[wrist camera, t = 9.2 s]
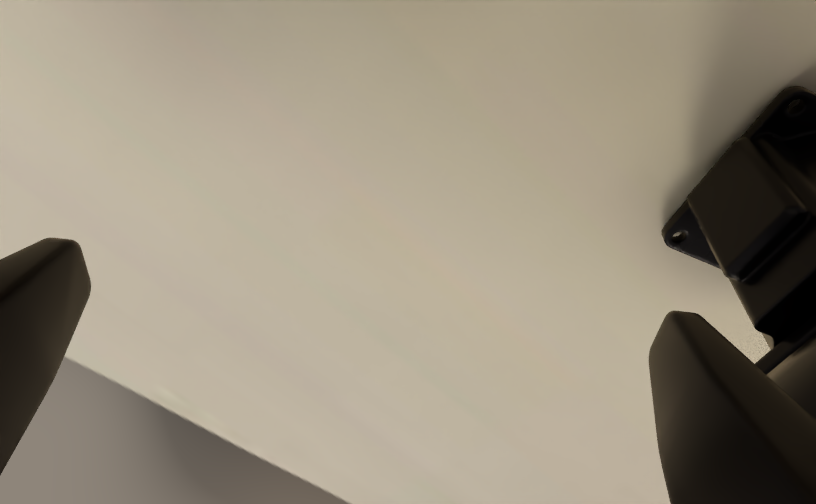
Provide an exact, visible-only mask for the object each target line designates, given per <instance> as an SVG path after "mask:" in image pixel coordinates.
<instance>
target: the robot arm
mask: <svg viewBox="0 0 816 504" xmlns="http://www.w3.org/2000/svg"><path fill="white" fill-rule="evenodd" d="M797 99H800V102H799V103H798V105H797V106H795V107H794V108H791V109H788V106H789V104H790V103H791V102H793V101H794V100H797ZM676 232H682V234H680V235H679V236H676V237H674V236H673V235H674V234H675V233H676ZM662 237H663V239H664V241H665V243H666V245H667V246H669V247H670V248H672V249H675V250H677V251H680V252H682V253H684V254H687V255H689V256H691V257H694V258H696V259H699V260H701V261H703V262H706V263H708V264H711V265H713V266H715V267H718V268H720V269H722V271H723V273H724V275H725V276H726V277H728V278H729V280H730V282H731V283H732V285H733V287H734V289H735V291H736V293H737V295H738V297H739V299H740V301H741V303H742V304H743V306H744V308H745V310H746V312H747V314H748V316H749V318H750V320H751V322H752V324H753V325H754V327H755V329H756V330H758V331H759V332H762V334H763V336H764V338H765V340H766V342H767V344H768V346H769V347H770V349H771V350H770V351H769V352H768V353H767V354H766V355H765V356H763V357H762V358H761V359H760V360H759V361H758V362H756V363H755V364H754V363H753V362H752V361H750V360H749V359H748V358H747V357H746V356H745V355H744V354H743V353H742V352H741V351H739V350H738V349H737V348H736V347H735V346H734V345H733V344H732V343H731V342H729V341H728V340H727V339H726V338H725V337H724V336H723V335H722V334H721V333H719V332H718V331H717V330H716V329H715V328H714V327H713V326H712V325H711V324H709V323H708V322H707V321H706V320H705V319H704V318H703V317H701V316H700V315H699V314H696V313H690V312H682V311H671V312H669V313H668V314H667V315H666V317H665V318H664V320H663V323H662V325H661V327H660V329H659V331H658V333H657V335H656V337H655V339H654V342H653V344H652V346H651V348H650V352H649V369H650V378H651V387H652V396H653V405H654V414H655V423H656V432H657V440H658V448H659V454H660V459H661V464H662V468H663V473H664V477H665V481H666V486H667V490H668V494H669V498H670V503H671V504H816V93H814V92H812V91H810V90H808V89H806V88H804V87H800V86H794V87H789V88H787V89H785V90H783V91H782V92H781V93H780V94H779V95H778V96H777V97H776V98H775V99H774V100H773V101H772V103H771V104H770V105H769V106H768V107H767V108H766V110H765V111H764V112H763V113H762V114H761V115H760V116H759V118H758V119H757V120H756V121H755V122H754V123H753V124H752V126H751V127H750V128H749V129H748V130H747V131H746V133H745V134H744V135H743V136H742V137H741V138H740V139H739V140H737V141H735V142H734V143H733V145H732V146H731V147H730V148H729V149H728V150H727V151H726V153H725V154H724V155H723V156H722V157H721V158H720V160H719V161H718V162H717V163H716V164H715V165H714V167H713V168H712V169H711V170H710V171H709V172H708V173H707V175H706V176H705V177H704V178H703V179H702V180H701V182H700V183H699V184H698V185H697V186H696V187H695V188H694V190H693V191H692V192H691V193H690V194H689V195H688V198H687V200H686V202H685V203H684V204H683V205H682V206H681V207H680V209H679V210H678V211H677V212H676V213H675V214H674V215H673V217H672V218H671V219H670V220H669V221H668V222H667V224H666V225H665V226H664V227H663V229H662ZM90 291H91V281H90V277H89V274H88V270H87V267H86V264H85V260H84V257H83V253H82V250H81V247H80V245H79V244H78V243H77V242H76V241H74V240H69V239H60V238H46V239H43V240H41V241H39V242H37V243H35V244H33V245H31V246H28V247H26V248H24V249H22V250H20V251H18V252H16V253H14V254H11V255H9V256H7V257H5V258H3V259H1V260H0V475H1V473H2V471H3V469H4V468H5V466H6V464H7V462H8V460H9V459H10V457H11V455H12V453H13V452H14V450H15V448H16V446H17V445H18V443H19V441H20V439H21V437H22V436H23V434H24V432H25V430H26V429H27V427H28V425H29V423H30V422H31V420H32V418H33V416H34V414H35V413H36V411H37V409H38V407H39V406H40V404H41V402H42V400H43V399H44V397H45V395H46V393H47V391H48V389H49V387H50V385H51V384H52V382H53V380H54V378H55V376H56V373H57V371H58V369H59V367H60V365H61V362H62V360H63V357H64V355H65V353H66V350H67V348H68V346H69V343H70V341H71V338H72V336H73V334H74V331H75V329H76V327H77V324H78V322H79V319H80V317H81V315H82V312H83V310H84V308H85V305H86V303H87V300H88V298H89V295H90Z"/></svg>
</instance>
